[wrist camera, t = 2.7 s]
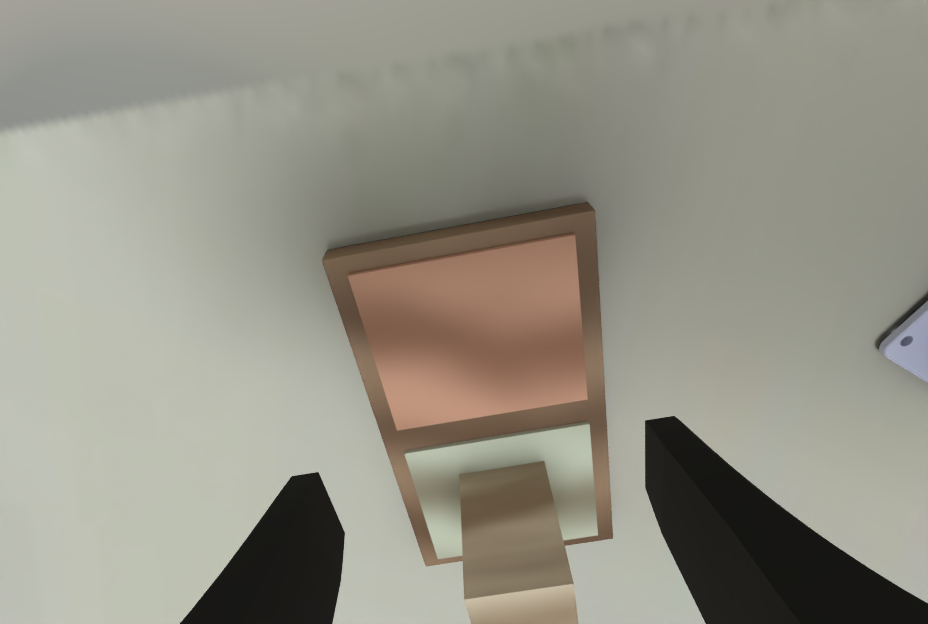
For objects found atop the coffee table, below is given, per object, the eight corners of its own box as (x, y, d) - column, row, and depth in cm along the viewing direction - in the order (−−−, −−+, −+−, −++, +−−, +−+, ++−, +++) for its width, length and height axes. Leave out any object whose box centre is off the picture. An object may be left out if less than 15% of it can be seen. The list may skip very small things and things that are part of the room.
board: (327, 250, 20) (320, 262, 19) (587, 202, 19) (596, 212, 18) (426, 549, 28) (425, 569, 27) (607, 522, 28) (614, 541, 27)
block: (459, 474, 24) (464, 599, 19) (544, 461, 24) (573, 583, 18) (473, 530, 26) (481, 658, 21) (552, 518, 26) (580, 644, 20)
